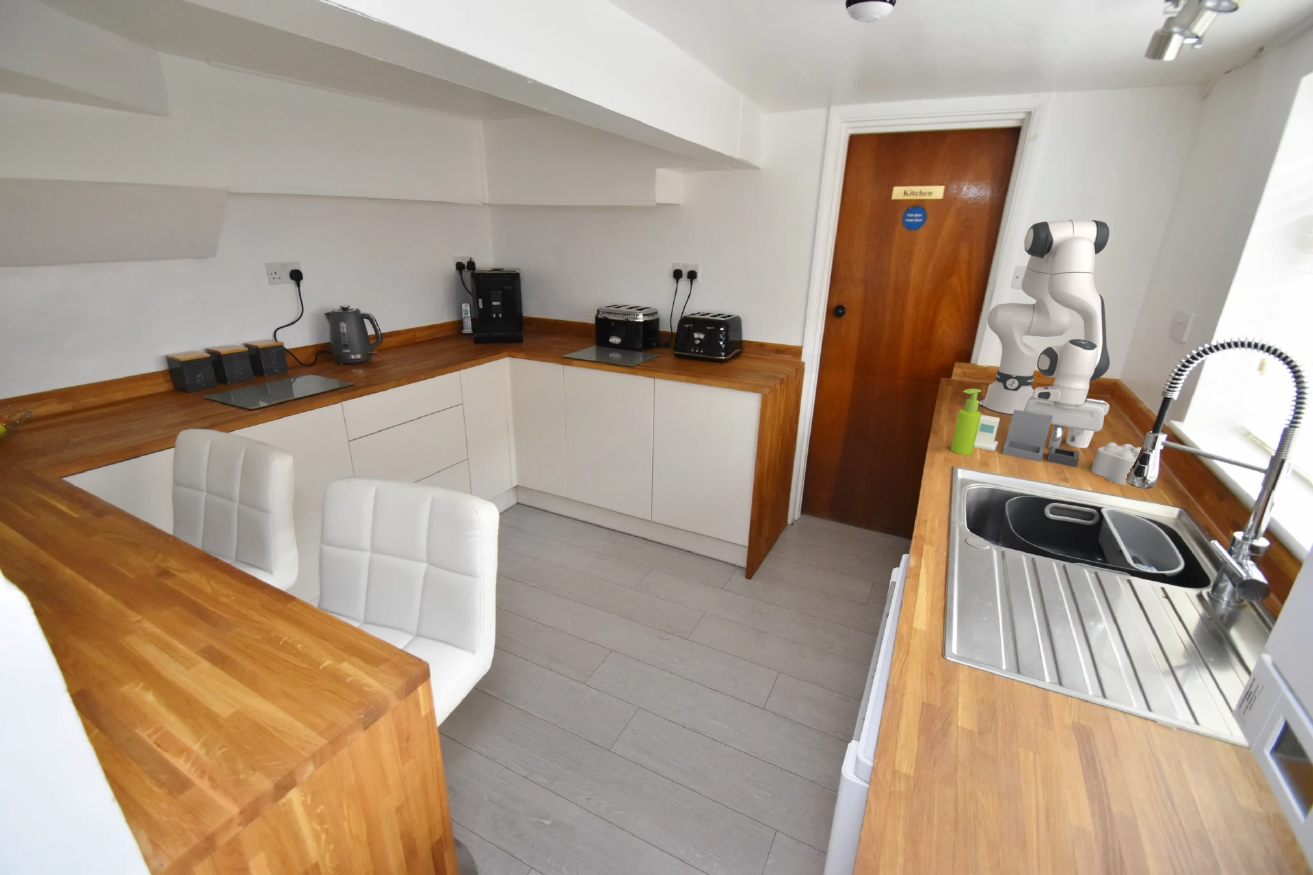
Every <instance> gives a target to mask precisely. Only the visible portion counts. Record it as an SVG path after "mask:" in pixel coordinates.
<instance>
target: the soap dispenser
mask: <svg viewBox="0 0 1313 875" xmlns="http://www.w3.org/2000/svg"><path fill="white" fill-rule="evenodd" d="M981 392H982V390H981V389H979V388H968V389H964V390H962V393H964V394H966V395H967V394H968V395H969V394H970V397H968V398H967V399H966V401H965V404H964V408H961V409H959V411H958V415H957V420H956V424H955V429H954V433H953V438H952V442H951V448H950V451H951V452H953V453H955V454H957V455H962V456H970V455H972V454H973V452H974V448H975V447H974V444H975V440H976V436H977V431H978V427H979V423H980V418H981V416H982V415H983V414H982V412H980V411H979V410H978V408H979V406H980V405H979V402H980V400H978V394H979V393H981Z"/></svg>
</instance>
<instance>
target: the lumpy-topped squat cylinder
mask: <svg viewBox="0 0 1313 875" xmlns="http://www.w3.org/2000/svg"><path fill="white" fill-rule="evenodd" d="M1141 448H1142V447H1140V446H1137V447H1135V446H1134V445H1132V444H1130V443H1125V444H1122V445H1118V444H1117V443H1116V442H1114V441H1113V442H1112V441H1111V442H1108V443H1106V444H1105V445H1104V446H1100V447H1098V448H1097V449H1096V450H1097V451H1096V454H1095V456H1094V459H1093V463H1092V465H1091V466H1092V467H1091V469H1090V471H1091V472H1092V473H1093V474H1095V475H1097V476H1101V477H1104V479H1105V480H1107V481H1109V482H1112V483H1114V484H1117V485H1122V486H1128V485H1127V484H1126V478H1127V474H1128V473H1129V472H1130V469H1131V468H1132V466H1133V465H1134V463H1135V461H1136V459H1137V457H1138V455H1139V453H1140V450H1141Z"/></svg>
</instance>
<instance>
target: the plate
mask: <svg viewBox="0 0 1313 875" xmlns="http://www.w3.org/2000/svg"><path fill="white" fill-rule="evenodd" d="M998 444H999V441H998V440H995V441H994V444H993V446H992V447H990V446H985V445H980V444H974V448H977V449H982V450H988V451H994V452H995V451H996V449H997V446H998Z"/></svg>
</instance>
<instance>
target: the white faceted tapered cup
mask: <svg viewBox="0 0 1313 875" xmlns="http://www.w3.org/2000/svg"><path fill="white" fill-rule="evenodd" d="M1077 433H1078V428H1072V427H1068V430H1067V433H1066V434H1067V436H1066V441H1065V443H1066V445H1069V446H1071V447H1074V448H1080V449H1082V448H1083V449H1085V448H1086V449H1087V448H1088V447H1089V445H1090V443H1091V440H1092V438H1093V436H1094V434H1095V431H1089V430H1084V433H1083V434H1082V435H1081V436H1079V437H1078V438H1077V441H1076V443H1075V442H1070V440H1071V436H1072V435H1076V434H1077Z"/></svg>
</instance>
